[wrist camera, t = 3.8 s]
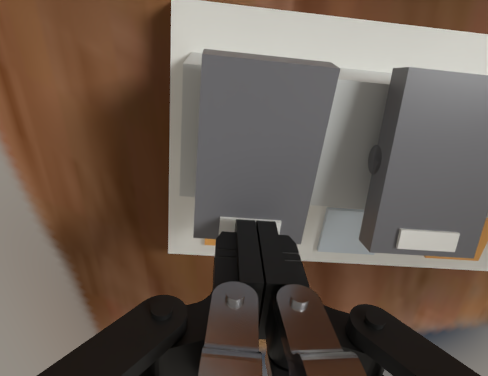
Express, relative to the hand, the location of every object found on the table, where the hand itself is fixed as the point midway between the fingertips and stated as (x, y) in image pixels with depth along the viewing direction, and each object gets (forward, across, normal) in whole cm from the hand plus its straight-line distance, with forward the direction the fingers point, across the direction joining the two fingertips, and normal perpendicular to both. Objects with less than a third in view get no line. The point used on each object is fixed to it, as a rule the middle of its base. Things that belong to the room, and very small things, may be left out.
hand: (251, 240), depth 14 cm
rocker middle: (+2, -7, -3) cm, 8 cm away
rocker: (+2, 0, -3) cm, 4 cm away
